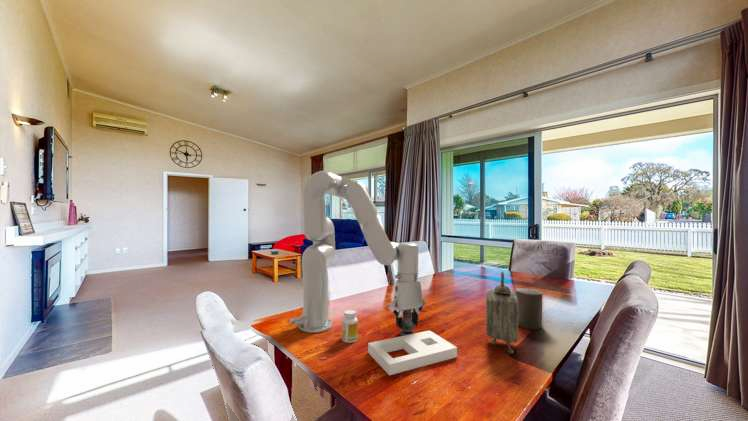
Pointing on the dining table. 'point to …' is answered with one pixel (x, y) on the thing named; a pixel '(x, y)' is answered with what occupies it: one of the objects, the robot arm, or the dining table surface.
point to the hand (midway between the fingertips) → (407, 325)
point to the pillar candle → (529, 308)
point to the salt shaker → (407, 323)
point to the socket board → (411, 351)
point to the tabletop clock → (502, 314)
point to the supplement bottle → (349, 326)
